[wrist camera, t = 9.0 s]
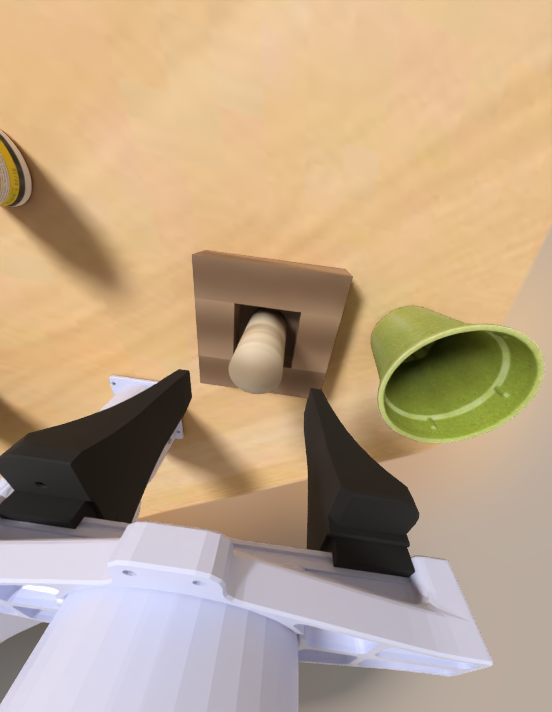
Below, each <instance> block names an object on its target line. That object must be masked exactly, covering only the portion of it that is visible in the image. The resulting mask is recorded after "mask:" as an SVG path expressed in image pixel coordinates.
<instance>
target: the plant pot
mask: <svg viewBox="0 0 552 712" xmlns="http://www.w3.org/2000/svg"><path fill="white" fill-rule="evenodd" d="M371 348H372V352H373V355H374V359H375V362H376V366H377V370H378V374H379V378H380V384H379V388H378V406H379V410H380V413H381V416H382V418H383V419H384V421H385V422H386V423H387V425H388V426H389V427H390V428H391V429H393V430H394V431H395V432H397V433H398V434H400V435H402V436H404V437H406V438H409V439H412V440H416V441H421V442H427V443H449V442H456V441H461V440H466V439H469V438H473V437H477V436H479V435H481V434H484V433H487V432H489V431H492V430H494V429H496V428H497V427H499V426H501V425H503V424H505V423H506V422H508V421H509V420H511V419H512V418H513V417H515V416H516V415H518V414H519V413H520V412H521V411H522V410H523V409H524V408H525V407H526V406H527V405H528V404H529V403H530V402H531V401H532V399H533V398H534V397H535V395H536V394H537V391H538V390H539V388H540V386H541V383H542V381H543V377H544V373H545V370H544V368H545V365H544V357H543V355H542V352H541V350H540V348H539V347H538V345H537V344H536V343H535V342H534V341H533V340H532V339H531V338H529V337H528V336H526V335H525V334H523V333H521V332H519V331H517V330H514V329H512V328H509V327H505V326H501V325H495V324H468V323H464V322H461V321H458V320H456V319H453V318H450V317H447V316H445V315H442V314H439V313H437V312H434V311H432V310H429V309H426V308H423V307H419V306H406V307H401V308H398V309H395V310H393V311H392V312H390V313H389V314H388V315H387V316H386V317H384V318H383V319H382V320H381V321H379V322H378V323H377V324H376V326H375V328H374V330H373V332H372V335H371Z"/></svg>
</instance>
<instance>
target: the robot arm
mask: <svg viewBox="0 0 552 712" xmlns="http://www.w3.org/2000/svg"><path fill="white" fill-rule="evenodd" d="M109 381H110V384H111V387H112V390H113V393H114V397H113V398H112V399H111V400H110V401H109V402H108V403H107V404H106V405H105V406H104V407H102V408H101V409H100V410H99V411H98V412H97V413H95V414H92V415H89V416H87V417H84V418H81V419H78V420H75V421H72V422H68V423H65V424H62V425H58V426H55V427H51V428H47V429H43V430H40V431H36V432H32V433H28V434H27V435H26V436H25V437H23V438H22V439H21V440H20V441H18V442H17V443H16V444H15V445H13V446H12V447H11V448H10V449H8V450H7V451H6V452H5V453H3V454H2V455H1V456H0V474H1V475H2V476H3V477H2V478H1V479H0V643H1V642H3V641H4V640H6V639H8V638H10V637H11V636H13V635H15V634H17V633H19V632H22V631H24V630H26V629H28V628H30V627H32V626H34V625H36V624H39V623H41V622H47V623H50V624H49V626H48V627H47V629H46V631H45V632H44V634H43V636H42V637H41V639H40V640H39V642H38V644H37V645H36V647H35V649H34V650H33V652H32V654H31V655H30V657H29V659H28V660H27V662H26V663H25V665H24V667H23V668H22V670H21V672H20V673H19V675H18V676H17V678H16V680H15V681H14V683H13V685H12V686H11V688H10V689H9V691H8V693H7V694H6V696H5V698H4V699H3V701H2V703H1V704H0V712H298V662H307V663H319V664H331V665H332V664H333V665H344V666H356V667H368V668H380V669H391V670H401V671H410V672H420V673H427V674H435V675H442V676H449V677H452V676H456V675H460V674H464V673H467V672H471V671H475V670H479V669H483V668H486V667H490V666H493V660H492V658H491V656H490V654H489V651H488V649H487V647H486V645H485V642H484V640H483V638H482V636H481V633H480V631H479V629H478V627H477V624H476V622H475V620H474V618H473V616H472V613H471V611H470V609H469V607H468V604H467V602H466V600H465V598H464V595H463V593H462V591H461V589H460V586H459V584H458V582H457V580H456V577H455V575H454V573H453V571H452V568H451V566H450V564H449V562H448V561H447V560H446V559H440V558H433V557H427V556H412V557H410V555H409V552H408V549H407V547H409V546H410V544H409V540H408V537H407V535H406V534H407V533H408V532H409V531H410V529H411V528H412V527H413V526H414V525H415V524H416V522H417V521H418V519H419V512H418V509H417V507H416V505H415V502H414V500H413V498H412V496H411V494H410V492H409V490H408V488H407V487H406V486H405V485H404V484H403V483H401V482H400V481H399V480H397V479H396V478H395V477H393V476H392V475H391V474H390V473H388V472H387V471H386V470H385V469H384V468H383V467H381V466H380V465H379V464H378V463H377V462H376V461H375V460H374V459H372V458H371V457H370V456H369V455H368V454H367V453H366V452H365V451H364V450H363V449H362V448H361V447H360V445H359V444H358V443H357V442H356V441H355V440H354V439H353V438H352V436H351V435H350V434H349V433H348V431H347V430H346V429H345V427H344V426H343V425H342V423H341V422H340V420H339V419H338V417H337V416H336V414H335V413H334V411H333V410H332V408H331V406H330V404H329V403H328V401H327V399H326V397H325V396H324V394H323V392H322V390H321V389H315V388H310V392H309V396H308V400H307V404H306V408H305V412H304V435H305V446H306V455H307V466H308V523H307V549H302V548H295V547H288V546H281V545H274V544H267V543H261V542H254V541H247V540H240V539H233V538H229V537H227V536H225V535H224V534H222V533H221V532H217V531H214V530H210V529H204V528H197V527H190V526H183V525H176V524H169V523H163V522H156V521H137V518H138V515H139V512H140V504H141V498H142V495H143V493H144V491H145V488H146V486H147V484H148V483H149V482H150V481H151V480H152V479H153V477H154V476H155V474H156V472H157V470H158V468H159V467H160V465H161V463H162V461H163V460H164V458H165V456H166V454H167V452H168V451H169V449H170V447H171V445H172V443H173V442H174V440H175V439H182V438H183V436H184V434H183V427H182V417H183V416H184V414H185V412H186V410H187V408H188V405H189V403H190V401H191V398H192V393H191V383H190V372H189V371H188V370H181V369H179V370H177V371H175V372H174V373H172V374H171V375H169V376H167V377H166V378H164V379H163V380H161V381H159V382H158V381H151V380H144V379H137V378H130V377H123V376H116V375H112V376H111V377H110V378H109Z"/></svg>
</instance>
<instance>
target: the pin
mask: <svg viewBox="0 0 552 712" xmlns="http://www.w3.org/2000/svg"><path fill="white" fill-rule="evenodd" d="M286 331H287V322H286V319H285V317H284V315H283V314H282V313H281V312H280V311H279V310H277V309H273V308H265V307H263V308H260V309H258V310H256V311H255V312H254V313H253V314H252V316H251V318H250V320H249V322H248V325H247V327H246V329H245V331H244V333H243V335H242V337H241V340H240V342H239V344H238V346H237V348H236V350H235V352H234V355H233V357H232V359H231V361H230V363H229V375H230V378H231V380H232V381H233V383H234V384H235V385H236V386H237V387H238V388H240V389H242V390H243V391H245V392H248V393H252V394H264V393H268V392H270V391H272V390H274V389H275V388H276V387H277V386H278V385H279V384H280V382H281V380H282V374H283V363H284V352H285V341H286Z"/></svg>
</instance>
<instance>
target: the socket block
mask: <svg viewBox="0 0 552 712" xmlns="http://www.w3.org/2000/svg"><path fill="white" fill-rule="evenodd" d="M192 264H193V279H194V294H195V309H196V324H197V338H198V353H199V368H200V383H205V384H212V385H219V386H226V387H233V388H238V387H237V386H236V385H235V384H234V383H233V381H232V380H231V378H230V375H229V363H230V361H231V359H232V357H233V355H234V352H235V350H236V348H237V346H238V344H239V342H240V340H241V337H242V335H243V333H244V331H245V329H246V327H247V325H248V322H249V320H250V318H251V316H252V314H253V313H254V312H255V311H256V310H258V309H260V308H263V307H265V308H273V309H277V310H279V311H280V312H281V313H282V314H283V315H284V317H285V319H286V322H287V331H286V341H285V352H284V363H283V374H282V380H281V382H280V384H279V385H278V386H277V387H276V388H275V389H274V390H272V391H270V392H269V393H276V394H283V395H290V396H297V397H304V398H308V396H309V392H310V388H315V389H322V385H323V382H324V378H325V375H326V371H327V368H328V364H329V360H330V357H331V353H332V350H333V346H334V342H335V339H336V335H337V332H338V328H339V325H340V321H341V317H342V314H343V310H344V307H345V303H346V300H347V296H348V292H349V289H350V285H351V282H352V278H353V276H352V275H351V274H350V273H349V272H348V271H347V270H346V269H339V268H332V267H325V266H318V265H310V264H303V263H296V262H288V261H281V260H274V259H267V258H259V257H252V256H245V255H237V254H230V253H223V252H216V251H208V250H205V251H201V252H198V253H195V254H192Z"/></svg>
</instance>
